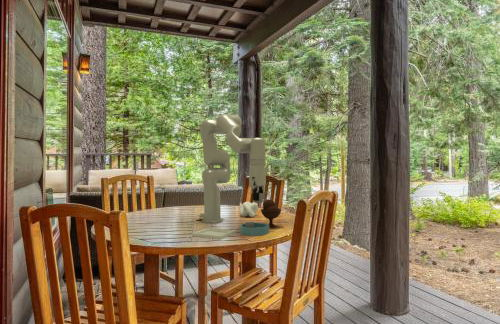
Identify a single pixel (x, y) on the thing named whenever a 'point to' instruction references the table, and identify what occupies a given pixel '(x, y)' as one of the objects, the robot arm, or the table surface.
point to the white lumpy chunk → (248, 209)
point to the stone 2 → (260, 198)
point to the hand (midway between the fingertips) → (258, 199)
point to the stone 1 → (249, 224)
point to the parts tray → (214, 233)
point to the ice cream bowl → (270, 211)
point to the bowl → (254, 229)
